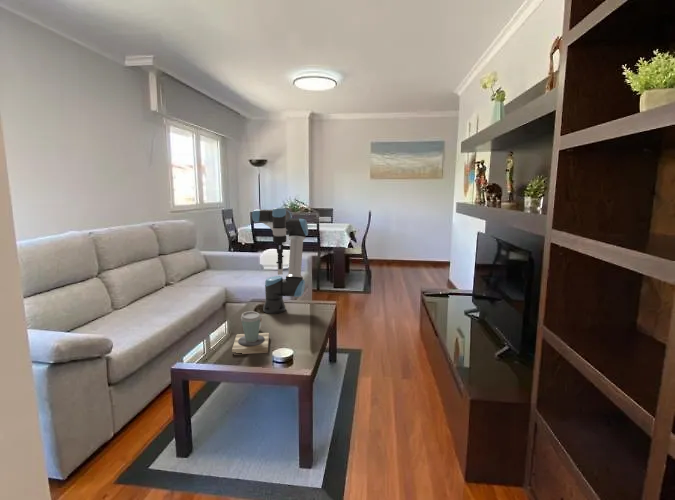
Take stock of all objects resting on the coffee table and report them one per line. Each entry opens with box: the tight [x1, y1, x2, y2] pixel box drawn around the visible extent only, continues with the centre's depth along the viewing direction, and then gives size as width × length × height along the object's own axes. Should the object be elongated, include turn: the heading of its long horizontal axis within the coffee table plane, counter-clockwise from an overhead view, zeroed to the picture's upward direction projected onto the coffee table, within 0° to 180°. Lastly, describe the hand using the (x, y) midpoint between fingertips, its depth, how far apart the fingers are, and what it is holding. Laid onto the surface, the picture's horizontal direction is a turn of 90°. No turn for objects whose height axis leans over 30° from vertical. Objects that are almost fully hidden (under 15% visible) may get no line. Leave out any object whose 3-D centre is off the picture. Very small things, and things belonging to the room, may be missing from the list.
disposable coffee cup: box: [240, 310, 262, 342], centre depth 194 cm, size 11×11×15 cm
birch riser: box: [231, 332, 270, 355], centre depth 195 cm, size 18×18×3 cm
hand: (280, 271), depth 208 cm, fingers open, 13 cm apart
